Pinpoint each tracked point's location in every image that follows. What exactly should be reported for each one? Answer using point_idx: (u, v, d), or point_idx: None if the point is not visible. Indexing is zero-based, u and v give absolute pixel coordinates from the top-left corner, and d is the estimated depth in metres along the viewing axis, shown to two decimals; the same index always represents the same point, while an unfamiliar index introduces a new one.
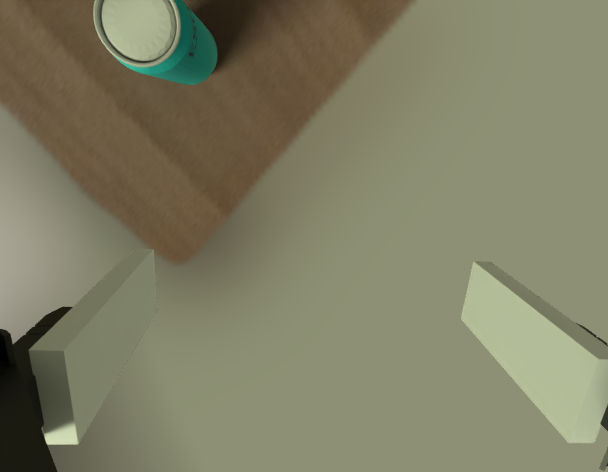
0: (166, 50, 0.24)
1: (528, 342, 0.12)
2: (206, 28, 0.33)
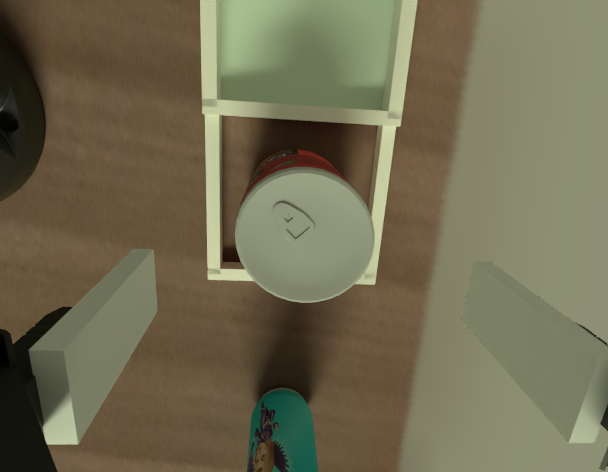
0: None
1: (528, 342, 0.12)
2: (292, 417, 0.33)
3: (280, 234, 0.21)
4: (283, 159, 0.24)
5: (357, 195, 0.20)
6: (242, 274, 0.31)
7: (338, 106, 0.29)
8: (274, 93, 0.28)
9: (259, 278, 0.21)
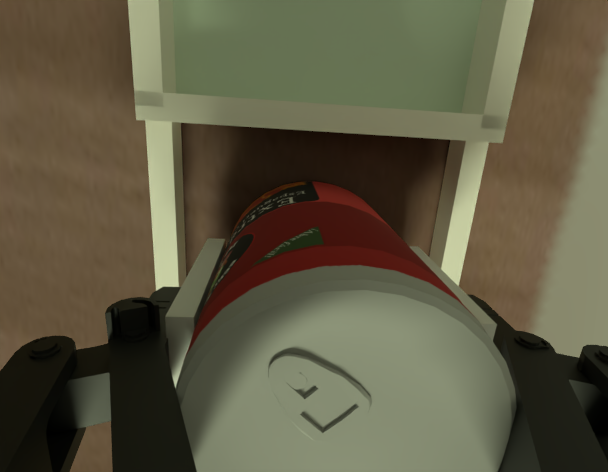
0: None
1: None
2: None
3: (287, 422, 0.09)
4: (291, 218, 0.11)
5: (486, 339, 0.08)
6: None
7: (386, 106, 0.16)
8: (273, 82, 0.16)
9: None
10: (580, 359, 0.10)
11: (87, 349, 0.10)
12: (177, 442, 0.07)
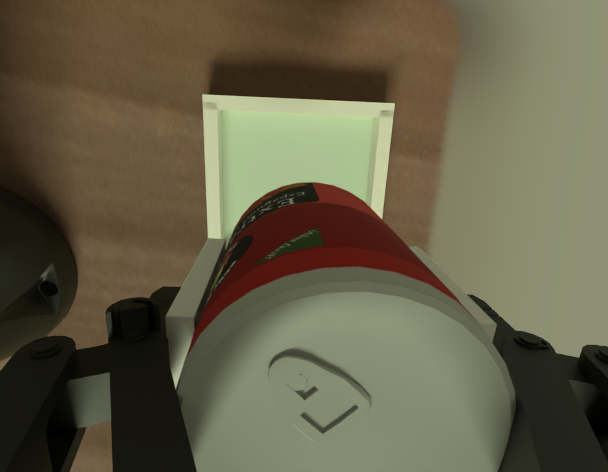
0: None
1: None
2: None
3: (287, 423, 0.09)
4: (291, 219, 0.11)
5: (486, 340, 0.08)
6: None
7: None
8: None
9: None
10: (580, 359, 0.10)
11: (87, 349, 0.10)
12: (177, 442, 0.07)
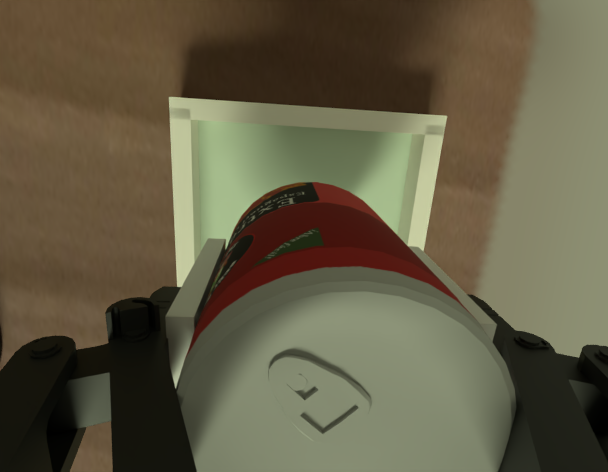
0: None
1: None
2: None
3: (287, 424, 0.09)
4: (291, 219, 0.11)
5: (486, 340, 0.08)
6: None
7: None
8: None
9: None
10: (580, 359, 0.10)
11: (87, 349, 0.10)
12: (178, 442, 0.07)
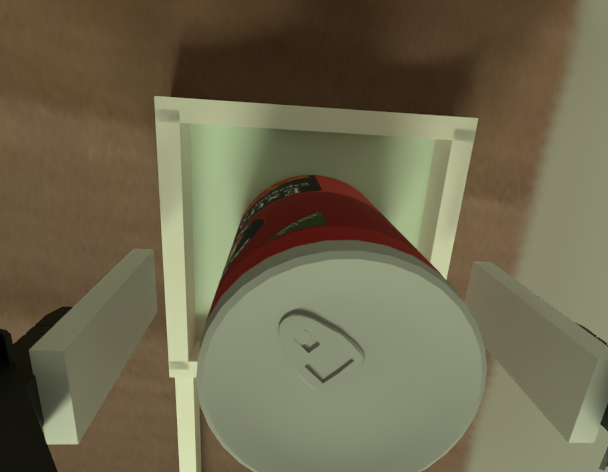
0: None
1: (528, 342, 0.12)
2: None
3: (293, 374, 0.10)
4: (297, 204, 0.13)
5: (461, 303, 0.09)
6: None
7: None
8: None
9: (247, 456, 0.11)
10: None
11: None
12: None
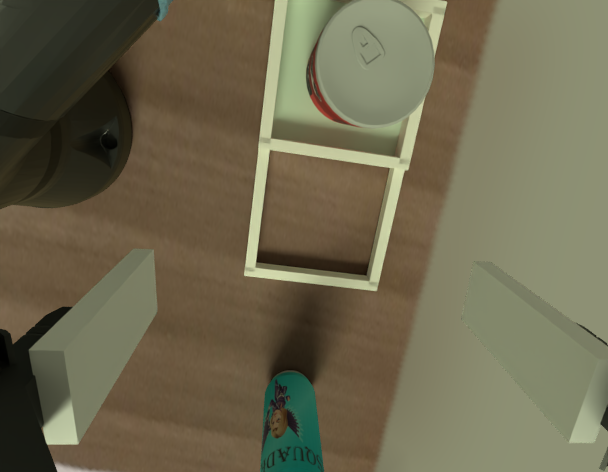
0: None
1: (528, 342, 0.12)
2: (301, 393, 0.40)
3: (355, 59, 0.24)
4: None
5: (425, 27, 0.24)
6: (272, 273, 0.39)
7: (361, 149, 0.37)
8: (313, 135, 0.36)
9: (331, 97, 0.25)
10: None
11: None
12: None
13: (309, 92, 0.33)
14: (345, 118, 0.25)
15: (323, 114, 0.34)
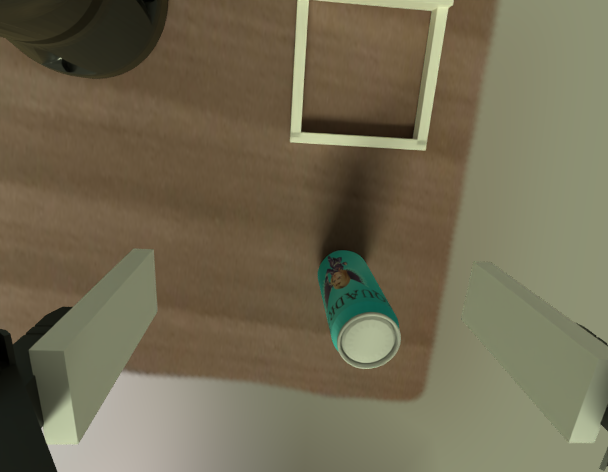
0: (394, 342, 0.31)
1: (528, 342, 0.12)
2: (357, 260, 0.40)
3: None
4: None
5: None
6: (318, 138, 0.38)
7: None
8: None
9: None
10: None
11: None
12: None
13: None
14: None
15: None
